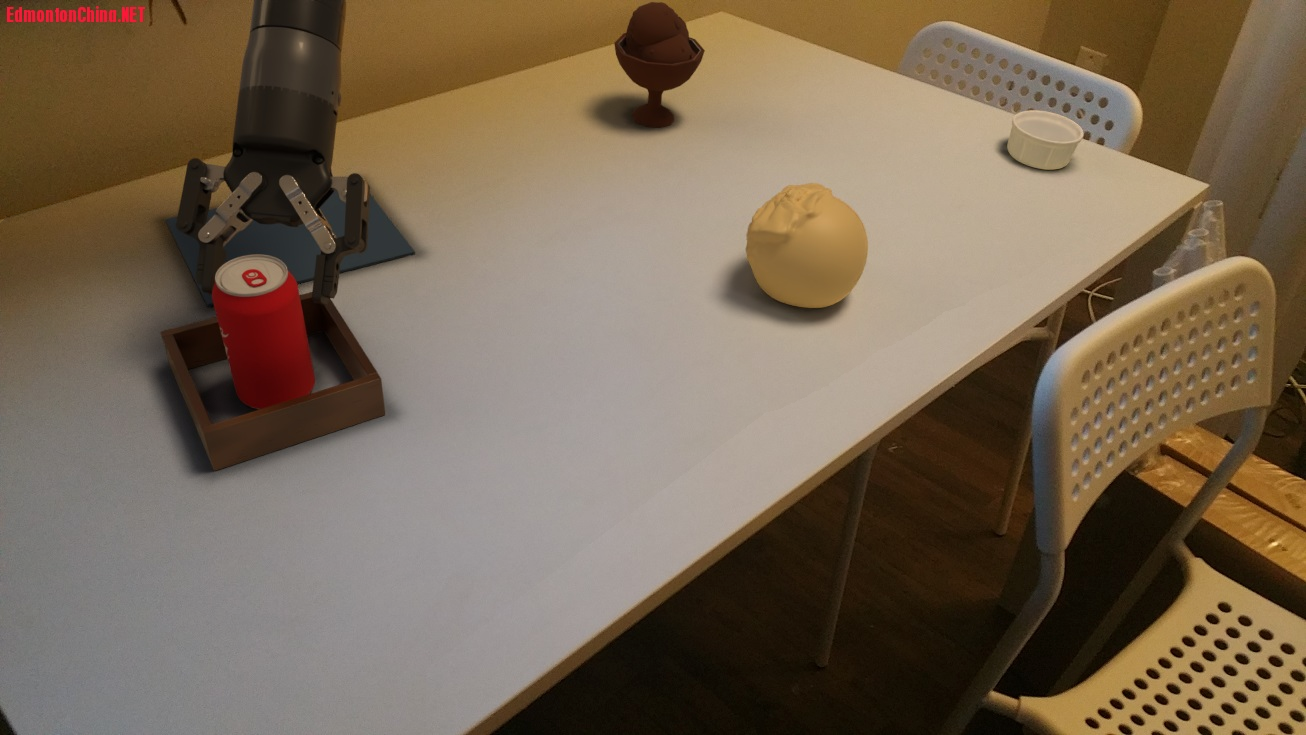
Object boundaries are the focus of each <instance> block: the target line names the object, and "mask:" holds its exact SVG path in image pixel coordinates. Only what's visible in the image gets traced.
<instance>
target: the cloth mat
mask: <svg viewBox="0 0 1306 735" xmlns="http://www.w3.org/2000/svg"><path fill="white" fill-rule="evenodd" d="M217 208H218V207H215V208H212V209H210V208H209V211H208V216H207V222H206V224H207V223H208V222H209V221H210V219H211V218H212V217H213V216H214V215H215V212H216V209H217ZM319 209H320V210H321V212H322V213H323V215H324V217H325V218H326V220H327V221H328V223H329V225H330V226H331V228H332V231H333V233H334V234H335V236H336V237H337V238H338V237H342V236H344V232H345V212H346V204H345V203H344V202H343V201H341V200H340V198H339V193H338V191H334V193H333V194H332V195H331V196H330V197H329V199H328V200H327V201H326V202H325V203H324V204H323V205H322V206H321V207H320V208H319ZM177 217H178V215H177V216H173V217H169V218H165V223H166V225H167V226H168V229H169V231H170V233H171V235H172V237H173V239H174V241H175V243H176V245H177V247H178V250H179V251H180V253H181V256H182V257H183V259H184V261H185V263H186V265H187V268H188V271H189V272H190V274H191V276H192V278H193V280H194V282H195V284H196V286H197V288H198V290H199V292H200V294H201V296H202V298H203V300H204V302H205V304H206V306H207V307H208V308H209V307H214V304H213V300H212V295H211V294H208V293H205V292H203V291H202V285H200V284H198V283H197V280H196V271H197V265H198V264H197V263H198V255H199V242H198V241H197V240H196V239H195V238H192V237H190V236H188V235H186V234H184V233H182V232H180V231H179V230H178V229H177V227H176V222H177ZM223 249H225V250H227V252H226V260H225V263H227V262H228V261H230V260H232V259H235V258H238V257H242V256H246V255H257V254H258V255H268V256H272V257H275V258H278V259H279V260H281V261H282V262H283V263H284V264H285V265H286V267H287V270H288V271H289V272H290V273H291V274H292V275H293V277H294V278H295V280H296V282H297V285H298V284H299V285H300V284H302V283H303V284H304V283H306V282H311V281H314V273H315V264H316V256H317V255H321V249H320V247H319V245H318V244H317V242H316V241H315V239H314V237H313V236H312V234H311V233H310V231H309V230H308V229H307V228H306V226H305V225H304V224H302V225H299V227H290V226H287V225H284V224H281V223H276V224H270V225H268V224H259V223H258V222H256V221H254V220H253V221H252V222H251V223H250V224H249V225H248V226H247V227H246V228H245V229H244V230H242V231H239V232H237V233H236V234H235V235H234V236H233V238H232V239H231V240H230V241H229V242H228V243H227V244H226V245H225V246H224V247H223ZM415 254H416V251H415V250H414V249H413V247H412V246H411V245H410V243H409V241H408V240H407V239H406V238H405V237H404V236H403V234H402V233H401V231H399V229H398V228H397V226H396V225H395V224H394V222H393V221H392V220H391V219H390V217H389V216H388V215H387V213H386V212H385V211H384V209H383V208H382V207H381V206H380V204H379V203H378V202H377V201H376V199H375V198H374V197H373V195H371V193H370V201H369V222H368V243H367V250H366V251H365V252H364V253H362V254H358V253H355V254H351V255H347V256H345V257H344V258H343V259H342V260H341V263H340V272H339V274H342V273H347V272H350V271H353V270H357V269H362V268H365V267H370V266H373V265H377V264H381V263H385V262H390V261H393V260H397V259H401V258H404V257H409V256H413V255H415Z"/></svg>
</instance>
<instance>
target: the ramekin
mask: <svg viewBox="0 0 1306 735" xmlns="http://www.w3.org/2000/svg"><path fill="white" fill-rule="evenodd" d="M1084 134H1085V133H1084V130H1083V128H1082V127H1081V126H1080V125H1079V124H1078V123H1077V122H1075V121H1074V120H1072V119H1070V118H1069V117H1066V116H1063V115H1062V114H1058V113H1055V112H1051V111H1046V110H1038V109H1037V110H1034V109H1032V110H1031V109H1030V110H1023V111H1019V112H1017V113H1016V114H1014V115H1013V116H1012V121H1011V129H1010V133H1009V137H1008V141H1007V146H1006V147H1007V151H1008V153H1009V155H1010V157H1012V158H1013V159H1014V160H1015V161H1017V162H1019V163H1020V164H1022V165H1025V166H1028V167H1030V168H1034V169H1039V170H1045V171H1047V170H1049V171H1051V170H1059V169H1062V168H1064V167H1066V166H1067V165H1068V164H1069V163H1070V162H1071V159H1072V157H1073V155H1074V153H1075V151H1076V149H1077V147H1078V146H1079V144H1080V143H1081V142H1082V140H1083V138H1084Z"/></svg>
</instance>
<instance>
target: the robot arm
mask: <svg viewBox="0 0 1306 735" xmlns="http://www.w3.org/2000/svg"><path fill="white" fill-rule="evenodd" d="M346 16H347V0H253V3H252V11H251V20H250V28H249V35H248V41H247V45H246V48H245V52H244V56H243V60H242V66H241V73H240V80H239V90H238V97H237V103H236V113H235V120H234V128H233V129H234V130H233V137H232V154H231V157H230V159H229V161H228V163H227V164H226V165H225V166H224V165H217V164H210V163H206V162H204V161H203V160H201V159H199V158H196V157H193V158H191V159H189V161H188V162H187V163H186V164H187V165H186V170H185V176H184V180H183V185H182V191H181V196H180V200H179V201H180V202H179V208H178V212H177V216H178V217H177V216H176V217H177V222H176V227H177V229H178V230H179V231H180V232H182V233H184V234H186V235H188V236H190V237H192V238H195V239H196V240H197V241H198V242H199V255H198V263H197V264H198V265H197V271H196V280H197V283H198V284H200V285H202V291H203V292H205V293H208V294H211V295H212V290H213V287H214V284H215V275H216V272H217V271H218V269H219V268H220V267H221V266H222V265H223V264H225V260H226V252H227V250H225V249H223V247H224V246H225V245H226V244H227V243H228V242H229V241H230V240H231V239H232V238H233V236H234V235H235V234H236V233H237V232H239V231H242V230H244V229H245V228H246V227H247V226H248V225H249V224H250V223H251V222H252V221H253V220H254V221H256V222H258V223H259V224H268V225H270V224H276V223H281V224H284V225H287V226H290V227H299V225H302V224H304V225H305V226H306V228H307V229H308V230H309V231H310V233H311V234H312V236H313V237H314V239H315V241H316V242H317V244H318V245H319V247H320V249H321V255H317V256H316V264H315V273H314V280H313V282H312V291H311V292H312V301H313V302H314V303H316V304H320V305H328V302H329V298H330V299H335V297H336V296H337V294H338V288H339V281H340V280H339V279H340V273H339V272H340V263H341V260H342V259H343V258H344V257H345V256H347V255H351V254H355V253H358V254H362V253H364V252H365V251H366V250H367V243H368V222H369V201H370V194H371V186H370V184H369V183H368V182H367V181H366V179H365V178H364V177H363V176H361V174H359V173H356V172H353V173H350V174H349V175H348V176H333V172H332V166H333V159H334V158H333V157H334V150H335V140H336V133H337V132H336V131H337V124H338V114H339V108H340V107H341V101H342V94H341V89H342V50H343V41H344V33H345V24H346ZM224 182H225V184H226V186H227V187H228V189H229V191H230V192H231V194H229V196H228V197H226V199H225V200H224V201H223V202H222V203H221V204H220V205H219V206H218V207H216V208H217V209H216V212H215V215H214V216H213V217H212V218H211V219H210V221H209V222H208V223H207V224H206V222H207V216H208V211H209V210H210V206H211V200H212V195H213V193H215V192H217V191H219V188H220V186H221V184H222V183H224ZM334 191H338V193H339V198H340V200H341V201H343V202H344V203H345V204H346V212H345V232H344V236H342V237H338V238H337V237H336V236H335V234H334V233H333V231H332V228H331V226H330V225H329V223H328V221H327V220H326V218H325V217H324V215H323V213H322V212H321V210H320V209H319V208H320V207H321V206H322V205H323V204H324V203H325V202H326V201H327V200H328V199H329V197H330V196H331V195H332V194H333V193H334Z"/></svg>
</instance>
